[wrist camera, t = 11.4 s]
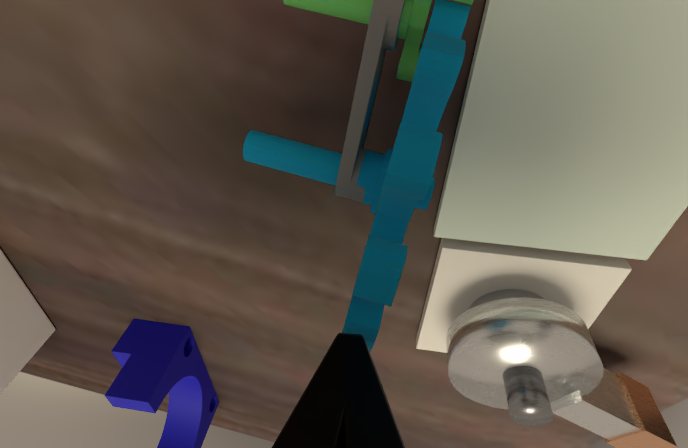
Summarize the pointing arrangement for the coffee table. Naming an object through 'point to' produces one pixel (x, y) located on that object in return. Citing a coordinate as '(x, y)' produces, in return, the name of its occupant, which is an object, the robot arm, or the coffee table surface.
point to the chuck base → (513, 282)
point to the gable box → (18, 323)
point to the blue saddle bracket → (165, 380)
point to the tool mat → (572, 128)
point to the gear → (400, 162)
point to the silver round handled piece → (548, 372)
